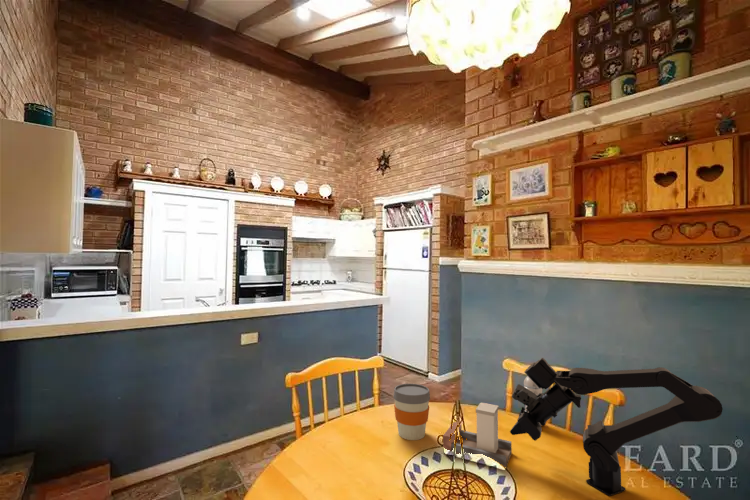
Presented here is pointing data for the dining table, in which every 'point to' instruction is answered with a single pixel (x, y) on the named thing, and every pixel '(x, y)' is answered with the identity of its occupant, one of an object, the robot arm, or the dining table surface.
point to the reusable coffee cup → (411, 410)
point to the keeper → (487, 427)
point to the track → (471, 445)
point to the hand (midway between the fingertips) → (511, 432)
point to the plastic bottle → (532, 387)
